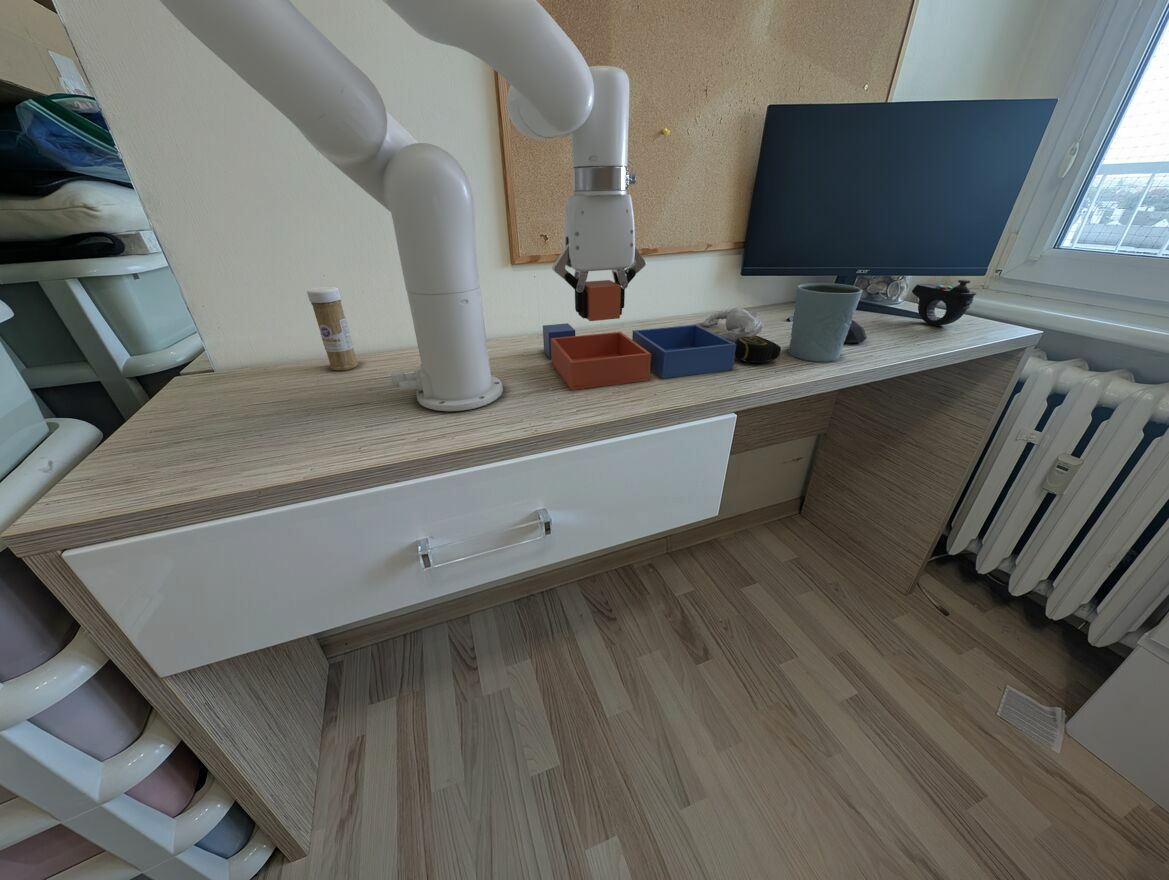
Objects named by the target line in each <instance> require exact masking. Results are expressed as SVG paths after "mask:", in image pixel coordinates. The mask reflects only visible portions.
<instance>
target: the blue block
mask: <svg viewBox="0 0 1169 880" xmlns="http://www.w3.org/2000/svg"><path fill="white" fill-rule="evenodd" d="M570 336H576V329H575V328H574V327H573V326H572V325H571V324H570V323H566V322H565V323H556V324H546V325H545V324H544V325H542V340H543V341H542V342H543V352H544V353H545V355H546V356H547V357H548V359H549V360H552V358H551V338H560V337H570Z"/></svg>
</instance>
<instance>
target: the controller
mask: <svg viewBox="0 0 1169 880" xmlns="http://www.w3.org/2000/svg"><path fill="white" fill-rule="evenodd" d="M957 283H959V284H958V285H956V286H951V285H950V286H949V285H947V286H944V285H942V284H939V285H936V284H929V283H918V284H916V285H915V286H914V287H913V289H912V290H911V293H912V294H913V295H914V296H916V297H917V298H918V303H917V304H918V305H917V312H918V315H919V317H920V318H921V320H922V321H923V322H924V323H926V324H928V325H931V326H937V327H938V326H946V325H950V324H953V323H955V322H957V321H958V320H959V319H961V318H962V317H963V316H964V314H965V313H966V312H967V311H968V310H969V309H970V308H971V307H970V306H971V304H972V303H973V301H974V297H975V296H976V295H977V294H978V293H977V292H975V291H971V289H970V288H969V287H968V285H967V284H970V283H971V280H969V279H958V280H957ZM940 302H943V303H944V305H945V308H946V309H945V312H944V314H943V316H942V317H941V318H939V317H938V316H937V315H936V313H935V309H936V307H937V305H938V304H939V303H940Z"/></svg>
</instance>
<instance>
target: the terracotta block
mask: <svg viewBox="0 0 1169 880" xmlns="http://www.w3.org/2000/svg"><path fill="white" fill-rule="evenodd" d="M585 292H587V296H588V317H587V318H585V319H586V320H588V321H589V322H597V321H606V320H618V319H621V315H620V293H621V285H619V284H617V283H615V282H614V280H613V281H612V280H610V279H604V280H603V279H602V280H591V281H590V280H589V281H586V284H585Z"/></svg>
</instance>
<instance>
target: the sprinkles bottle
mask: <svg viewBox="0 0 1169 880" xmlns="http://www.w3.org/2000/svg"><path fill="white" fill-rule="evenodd" d="M306 294H307V297H308V300H309V302H310V305H311V306H312V309H313V313H314V316H315V319H316V322H317V325H318V329H319V333H320V337H321V340H322V343H323V347H324V350H325V352H326V355H327V358H328V362H329V367H330V369H331V370H334V371H349V370H352V369H354V368H356V367H358V365H359V361H358V359H357V356H356V353H355V349H354V344H353V340H352V336H351V333H350V330H349V325H348V322H347V318H346V316H345V313H344V309H343V305H342V300H341V299H342V297H341V293H340V291H339V288H338V287H337V286H329V285H328V286H326V285H325V286H316V287H311V288H309V289H307V290H306Z"/></svg>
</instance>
